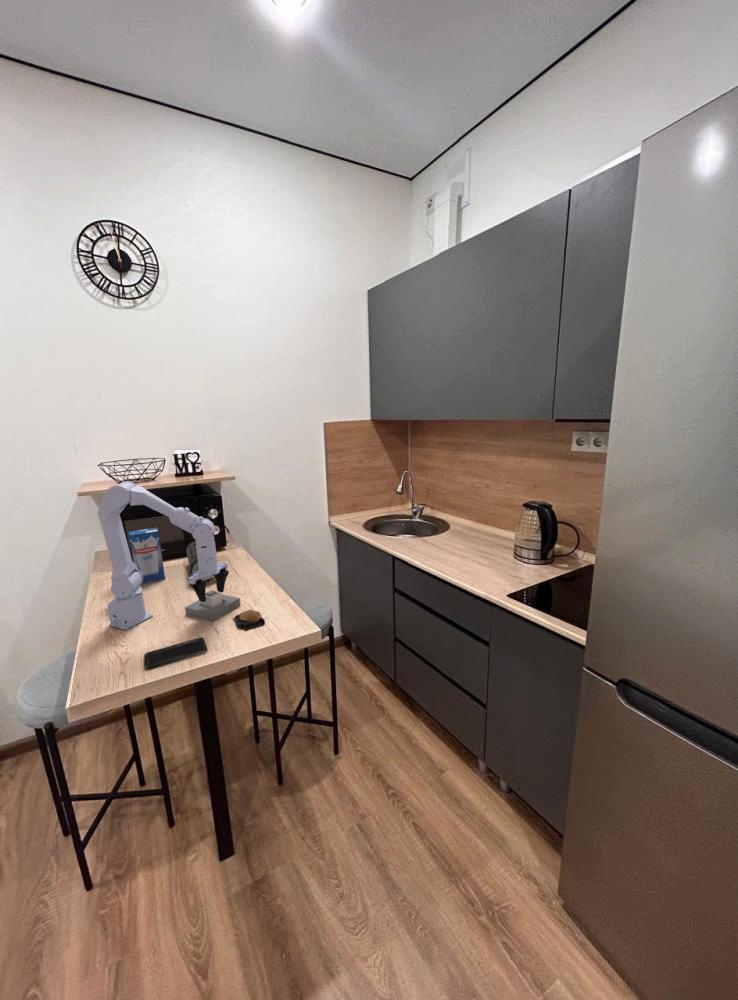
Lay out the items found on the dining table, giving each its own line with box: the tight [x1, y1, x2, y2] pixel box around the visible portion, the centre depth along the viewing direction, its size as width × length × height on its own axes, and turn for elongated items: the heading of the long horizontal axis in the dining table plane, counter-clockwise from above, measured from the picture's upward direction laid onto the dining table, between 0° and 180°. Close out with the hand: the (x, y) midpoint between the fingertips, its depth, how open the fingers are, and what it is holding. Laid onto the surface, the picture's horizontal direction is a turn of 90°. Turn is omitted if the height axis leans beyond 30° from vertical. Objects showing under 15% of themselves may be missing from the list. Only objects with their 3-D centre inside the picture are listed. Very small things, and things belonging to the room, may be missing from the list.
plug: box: [202, 589, 223, 608], centre depth 132 cm, size 4×5×6 cm
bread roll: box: [232, 609, 266, 632], centre depth 124 cm, size 11×8×4 cm
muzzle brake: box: [185, 540, 214, 582], centre depth 166 cm, size 10×28×10 cm, turn 27°
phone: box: [143, 637, 208, 671], centre depth 108 cm, size 8×1×15 cm
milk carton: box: [128, 527, 166, 585], centre depth 159 cm, size 10×6×20 cm, turn 121°
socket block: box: [184, 594, 241, 622], centre depth 133 cm, size 12×12×2 cm
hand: (211, 596), depth 132 cm, fingers open, 7 cm apart
